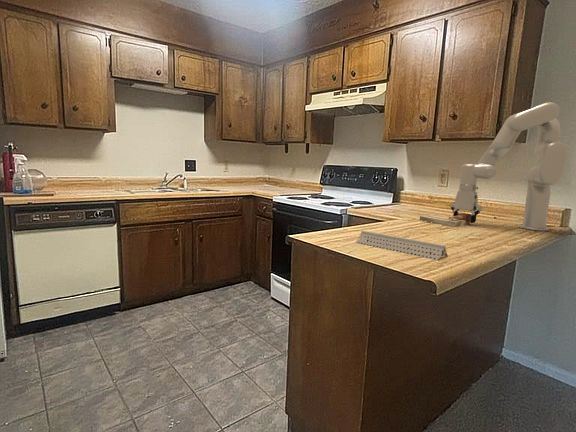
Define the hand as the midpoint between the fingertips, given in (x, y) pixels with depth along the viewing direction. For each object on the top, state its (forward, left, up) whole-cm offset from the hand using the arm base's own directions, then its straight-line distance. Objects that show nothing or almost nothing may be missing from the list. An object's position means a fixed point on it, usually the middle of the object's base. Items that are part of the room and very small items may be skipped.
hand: (463, 221), depth 184 cm
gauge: (+5, 0, -2) cm, 5 cm away
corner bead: (+76, +23, -2) cm, 80 cm away
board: (+8, -7, -2) cm, 11 cm away
